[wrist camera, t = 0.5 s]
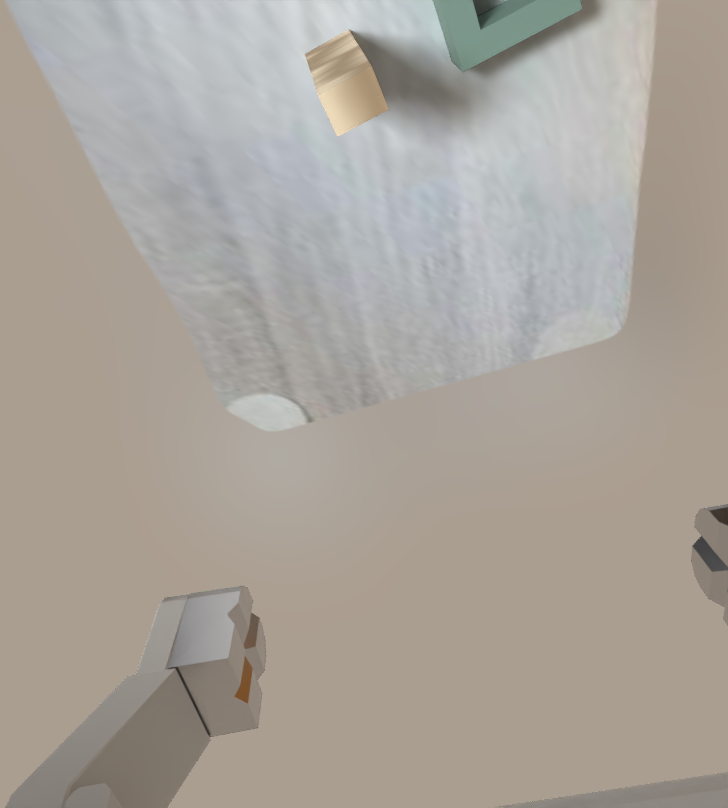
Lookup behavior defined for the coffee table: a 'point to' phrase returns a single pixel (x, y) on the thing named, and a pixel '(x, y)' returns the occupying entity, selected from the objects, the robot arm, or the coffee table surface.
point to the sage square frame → (495, 26)
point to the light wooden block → (345, 83)
